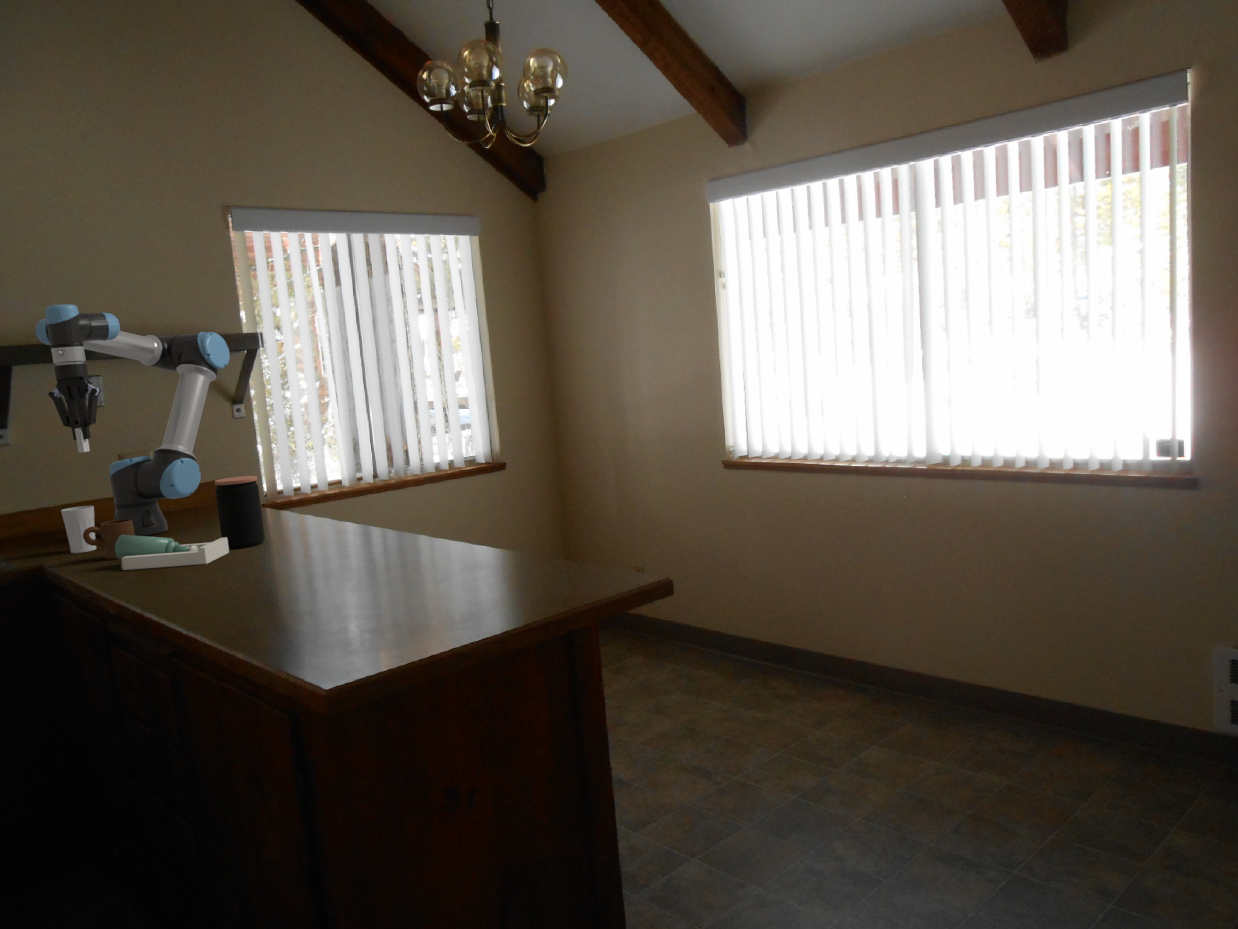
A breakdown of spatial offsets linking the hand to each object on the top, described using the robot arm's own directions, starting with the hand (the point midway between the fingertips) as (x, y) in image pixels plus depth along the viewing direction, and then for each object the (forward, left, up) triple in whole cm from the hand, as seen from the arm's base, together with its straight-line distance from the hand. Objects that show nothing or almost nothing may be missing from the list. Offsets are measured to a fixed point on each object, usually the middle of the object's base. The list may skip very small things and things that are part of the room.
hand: (84, 451), depth 249 cm
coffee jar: (+3, +41, -28) cm, 50 cm away
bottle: (+20, +18, -23) cm, 35 cm away
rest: (+19, +30, -28) cm, 46 cm away
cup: (-8, -9, -28) cm, 30 cm away
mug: (+8, +8, -28) cm, 31 cm away
